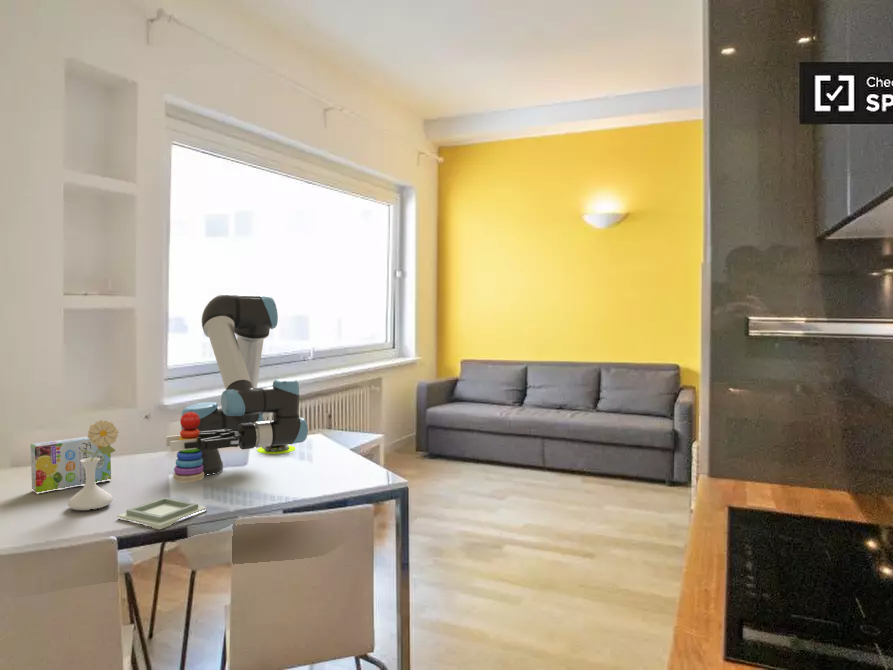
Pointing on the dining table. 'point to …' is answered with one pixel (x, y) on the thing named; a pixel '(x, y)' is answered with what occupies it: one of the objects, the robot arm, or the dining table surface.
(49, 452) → the snack box
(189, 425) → the stacking toy
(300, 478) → the dining table surface
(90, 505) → the flower in vase
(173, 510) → the base plate
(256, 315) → the robot arm
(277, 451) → the toy cauldron
